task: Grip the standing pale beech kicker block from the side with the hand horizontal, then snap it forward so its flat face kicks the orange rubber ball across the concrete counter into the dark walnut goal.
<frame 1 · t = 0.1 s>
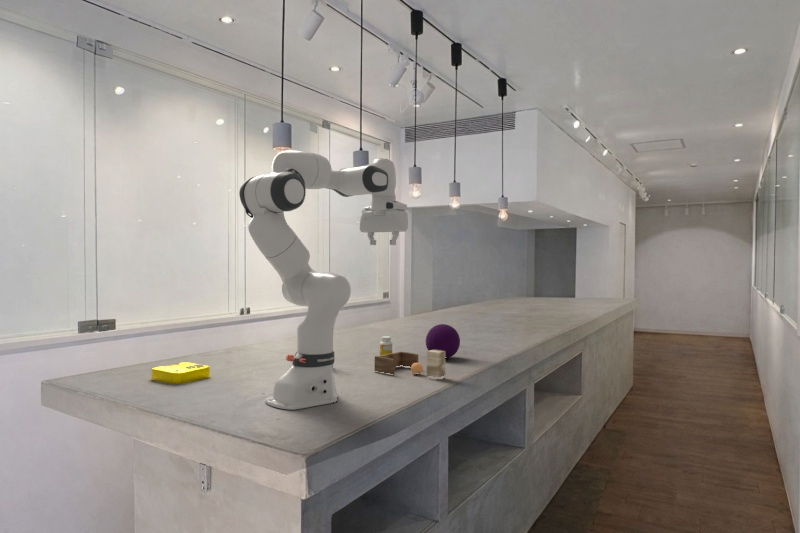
hand: (382, 245, 190), 48 cm above the table, tool pointing down, fingers open, 8 cm apart
kicker block: (436, 378, 195), on the table
supplement bottle: (385, 359, 231), on the table
goal: (398, 371, 207), on the table
element tile: (181, 379, 192), on the table
ball: (416, 374, 201), on the table
toy ball: (442, 359, 234), on the table
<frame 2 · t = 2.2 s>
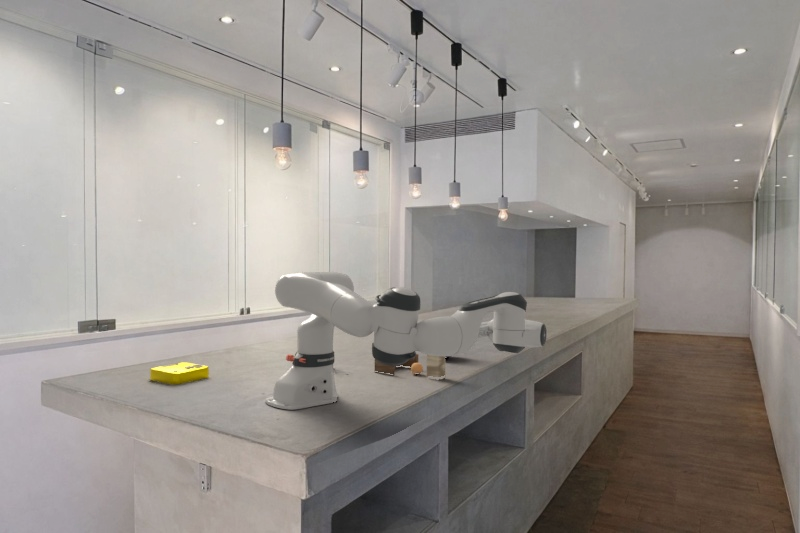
hand: (464, 326, 187), 20 cm above the table, tool horizontal, fingers open, 8 cm apart
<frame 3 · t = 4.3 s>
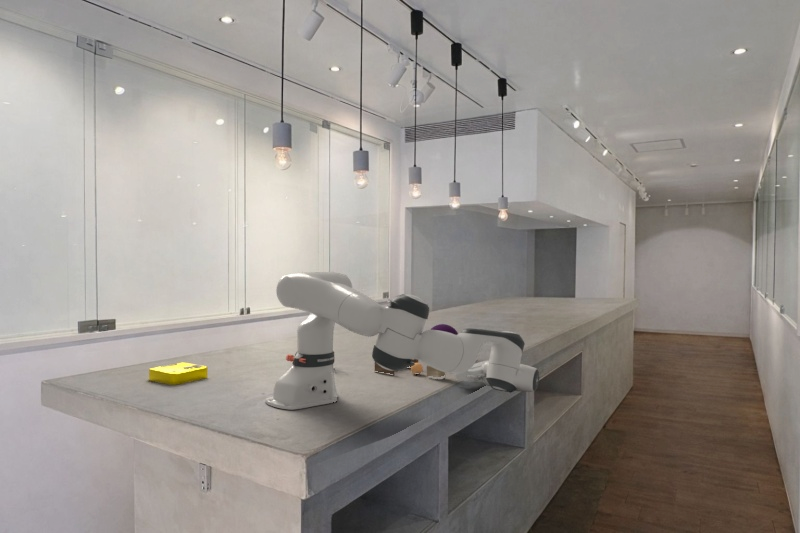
hand: (459, 367, 189), 5 cm above the table, tool horizontal, fingers open, 8 cm apart
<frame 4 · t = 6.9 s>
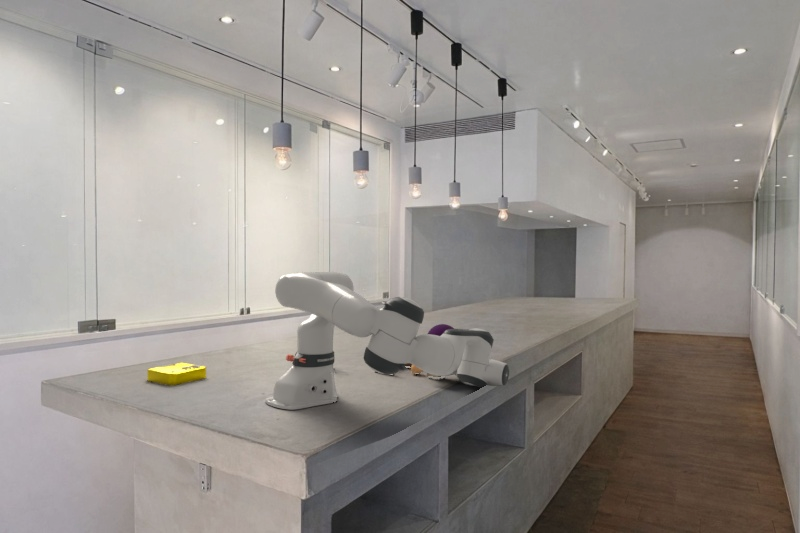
hand: (434, 362, 196), 6 cm above the table, tool horizontal, fingers closed on kicker block, 4 cm apart
kicker block: (436, 378, 195), on the table, touching gripper
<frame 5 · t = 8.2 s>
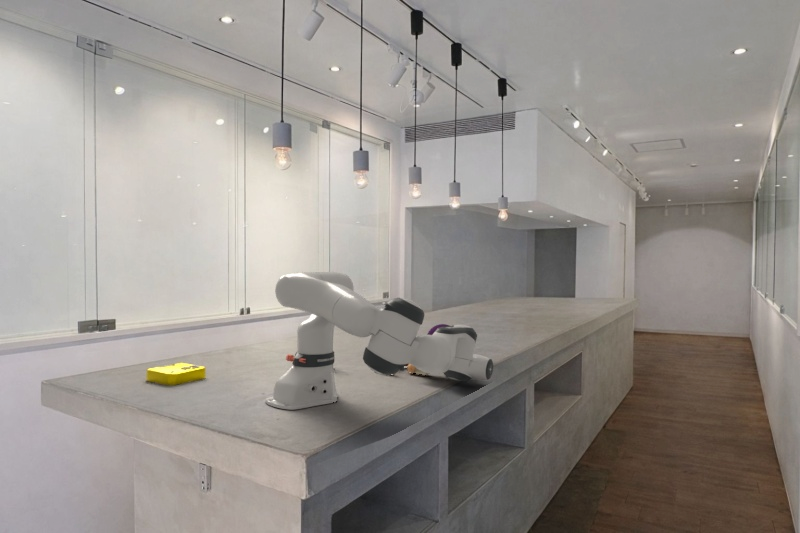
hand: (421, 358, 200), 6 cm above the table, tool horizontal, fingers closed on kicker block, 4 cm apart
kicker block: (424, 373, 199), point 1 cm above the table, touching gripper
ball: (416, 373, 201), on the table, tilted 39°
when the fingers open (6 cm above the table, at t = 10.2 s): kicker block stays where it is, on the table.
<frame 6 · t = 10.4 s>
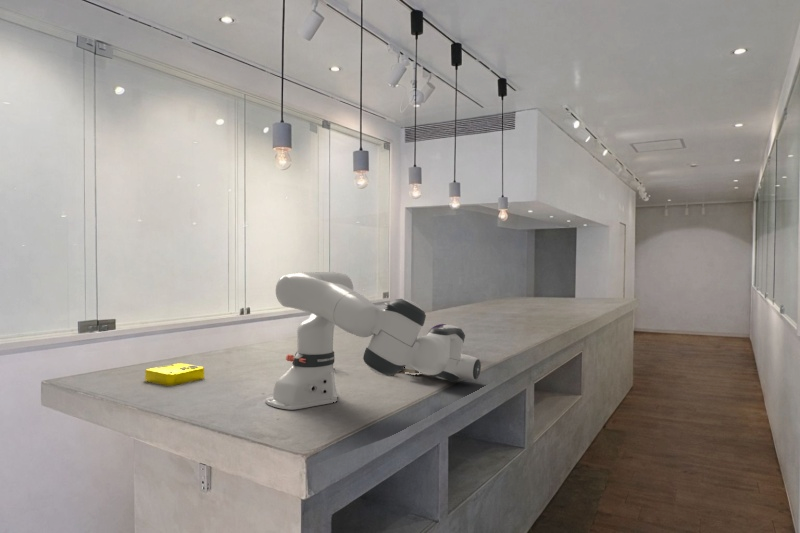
hand: (410, 358, 203), 6 cm above the table, tool horizontal, fingers open, 6 cm apart
kicker block: (413, 374, 202), on the table
ball: (395, 360, 208), point 4 cm above the table, tilted 133°
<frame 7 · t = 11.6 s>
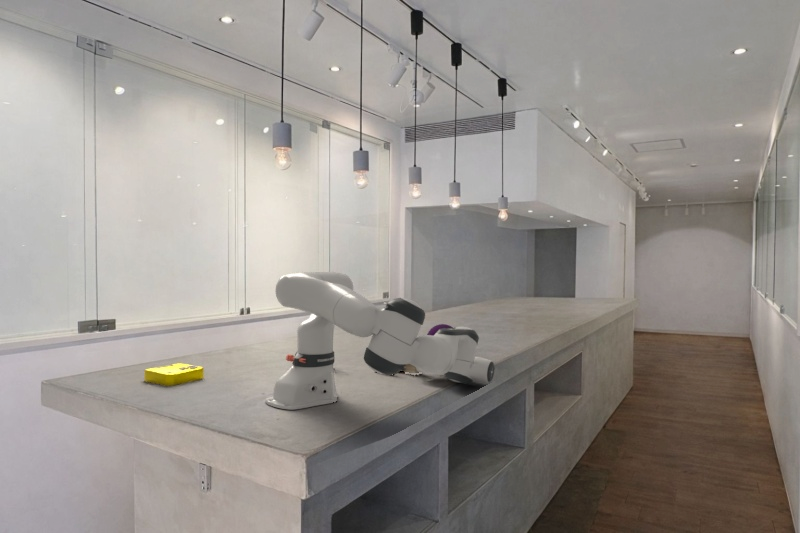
hand: (422, 360, 200), 5 cm above the table, tool horizontal, fingers open, 8 cm apart
ball: (401, 360, 206), point 4 cm above the table, tilted 172°
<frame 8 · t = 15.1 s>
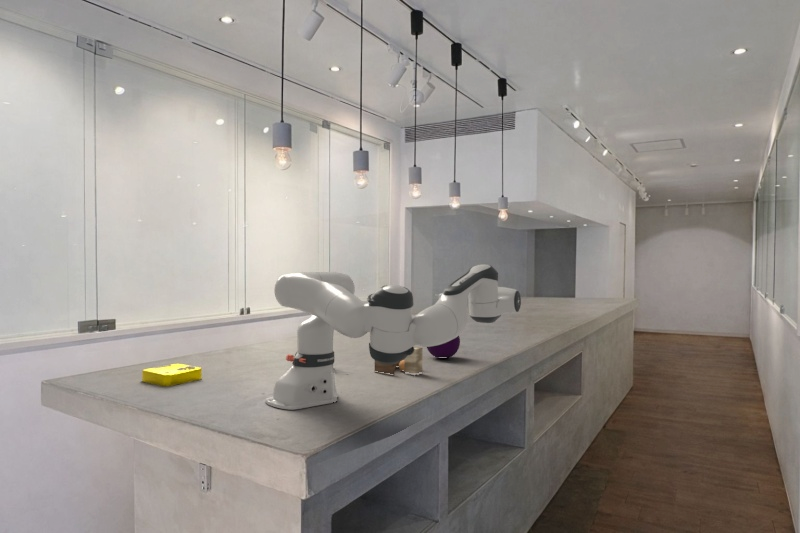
hand: (444, 296, 193), 30 cm above the table, tool horizontal, fingers open, 8 cm apart
ball: (406, 360, 208), point 4 cm above the table, tilted 146°
at the end: ball inside the target area (3.5 cm from its centre), point 4.1 cm above the table; kicker block tilted 0°; the gripper is holding nothing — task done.
